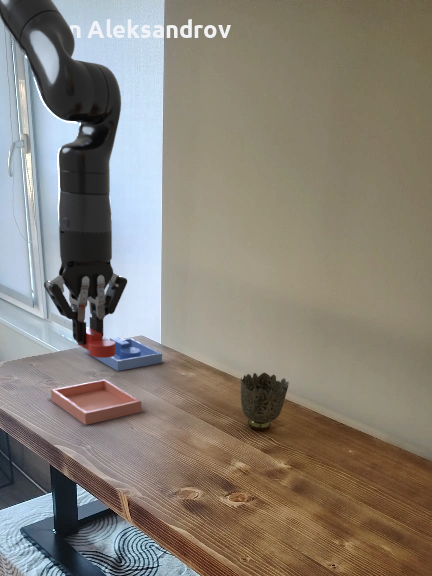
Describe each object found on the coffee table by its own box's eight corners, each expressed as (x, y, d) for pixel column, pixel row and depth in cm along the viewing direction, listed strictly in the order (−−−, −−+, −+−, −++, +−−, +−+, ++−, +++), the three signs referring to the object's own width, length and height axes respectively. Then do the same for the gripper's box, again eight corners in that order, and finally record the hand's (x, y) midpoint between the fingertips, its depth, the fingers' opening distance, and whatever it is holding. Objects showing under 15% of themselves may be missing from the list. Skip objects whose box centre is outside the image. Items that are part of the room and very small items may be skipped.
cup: (226, 425, 100) (230, 377, 96) (256, 414, 105) (262, 368, 101) (260, 442, 96) (266, 393, 92) (291, 430, 100) (298, 383, 96)
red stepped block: (71, 345, 99) (71, 329, 98) (94, 342, 102) (93, 326, 100) (97, 359, 94) (97, 342, 93) (120, 355, 96) (120, 338, 95)
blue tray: (87, 353, 125) (87, 344, 124) (130, 346, 131) (130, 337, 130) (117, 371, 117) (117, 361, 116) (161, 362, 123) (162, 353, 122)
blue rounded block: (105, 351, 125) (105, 338, 124) (122, 348, 128) (122, 336, 126) (127, 363, 120) (127, 350, 119) (144, 360, 123) (144, 347, 121)
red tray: (51, 400, 103) (50, 389, 102) (105, 389, 109) (105, 379, 108) (85, 425, 96) (85, 413, 95) (141, 411, 102) (141, 401, 101)
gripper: (112, 221, 97) (113, 331, 105) (29, 222, 89) (36, 341, 97) (139, 228, 92) (138, 343, 101) (54, 231, 84) (59, 355, 93)
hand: (88, 342), depth 99 cm, fingers closed on red stepped block, 2 cm apart
